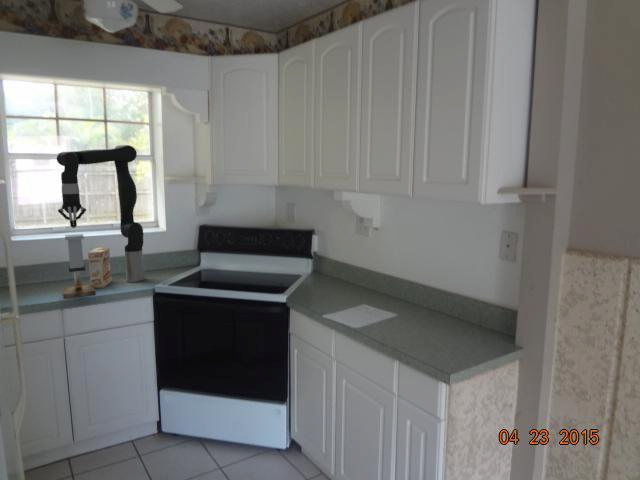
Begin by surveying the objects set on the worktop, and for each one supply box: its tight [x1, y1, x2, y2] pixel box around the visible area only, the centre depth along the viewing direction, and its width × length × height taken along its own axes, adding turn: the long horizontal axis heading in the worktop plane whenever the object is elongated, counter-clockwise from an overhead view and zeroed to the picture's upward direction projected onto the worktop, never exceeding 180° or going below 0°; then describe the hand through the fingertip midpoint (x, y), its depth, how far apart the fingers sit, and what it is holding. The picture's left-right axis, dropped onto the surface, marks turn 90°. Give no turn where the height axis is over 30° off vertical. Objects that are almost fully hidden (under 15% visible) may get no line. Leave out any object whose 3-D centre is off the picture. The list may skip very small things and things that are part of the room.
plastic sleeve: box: [64, 233, 85, 269], centre depth 232 cm, size 8×8×16 cm
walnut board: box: [62, 284, 96, 299], centre depth 236 cm, size 14×14×2 cm
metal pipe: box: [73, 271, 83, 290], centre depth 234 cm, size 4×4×17 cm
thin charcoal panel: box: [68, 264, 86, 273], centre depth 234 cm, size 7×7×2 cm
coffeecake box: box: [87, 246, 113, 289], centre depth 252 cm, size 15×7×20 cm, turn 9°
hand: (73, 227), depth 231 cm, fingers closed
